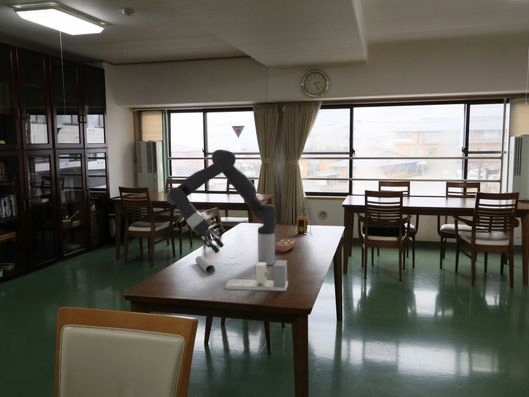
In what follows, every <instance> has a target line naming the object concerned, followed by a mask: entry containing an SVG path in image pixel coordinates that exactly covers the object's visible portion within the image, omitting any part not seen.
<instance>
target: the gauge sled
mask: <svg viewBox="0 0 529 397" xmlns="http://www.w3.org/2000/svg"><path fill="white" fill-rule="evenodd" d="M267 266H268V265H266V262H258V261H257V263H256V265H255V280H256V285H259V286H260V285H265V283H266V281H267V280H268V279H267V277H269V270H267Z"/></svg>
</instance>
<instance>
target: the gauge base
mask: <svg viewBox="0 0 529 397" xmlns="http://www.w3.org/2000/svg"><path fill="white" fill-rule="evenodd" d="M224 286H225V289H227V290H228V289H229V290H231V289H232V290H251V291H253V290H254V291H255V290H256V291H275V292H276V291H277V292H278V291H279V292H286V291H287V288H288V286H289V281H288V260H285V259H283V260H282V259H275V263H274V264H273V280H268V279H267V281H266V283H265V285H260V286H259V285H256V279H242V278H240V279H236V278H231V279H229V280H228V282H226V284H225V285H224Z"/></svg>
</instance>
